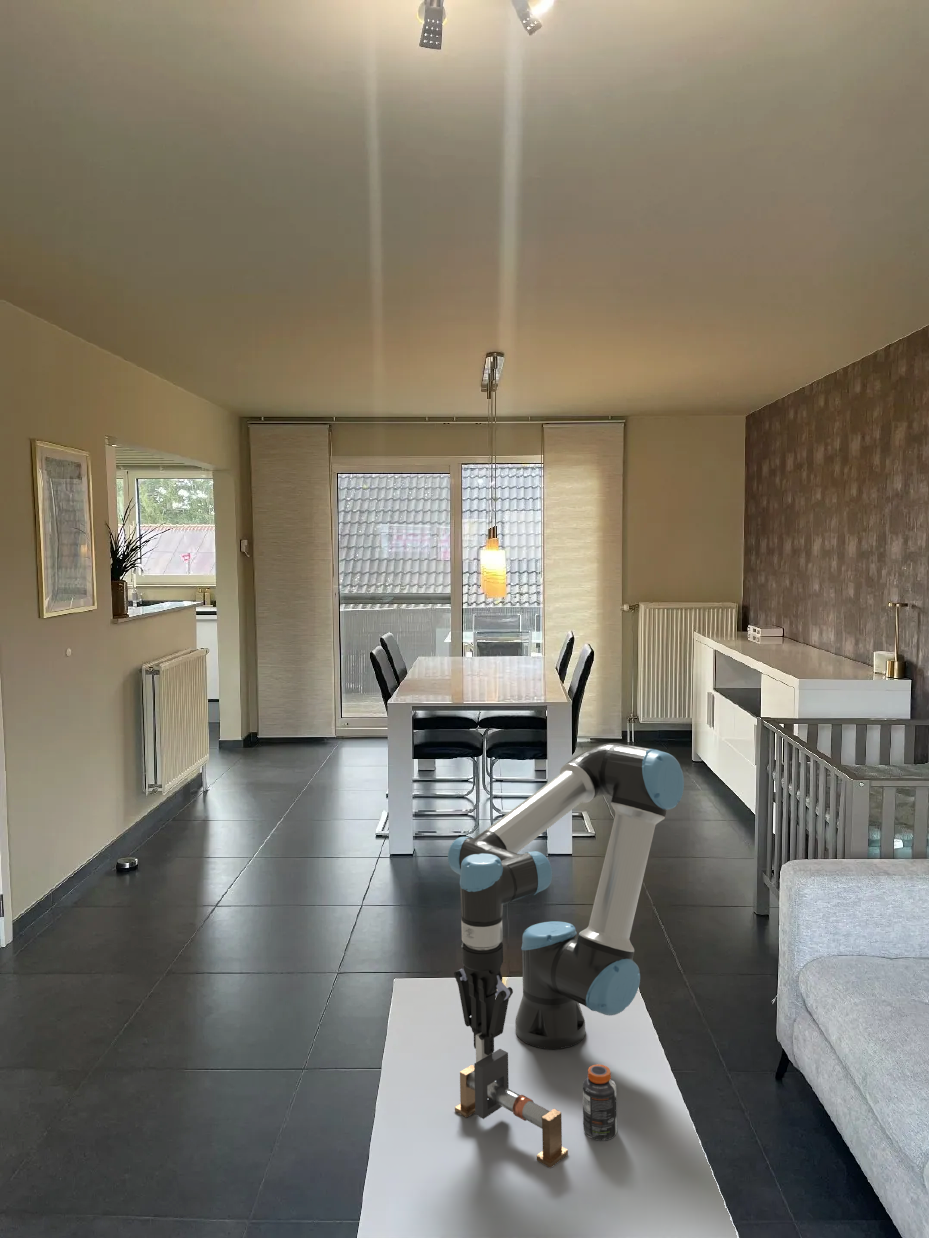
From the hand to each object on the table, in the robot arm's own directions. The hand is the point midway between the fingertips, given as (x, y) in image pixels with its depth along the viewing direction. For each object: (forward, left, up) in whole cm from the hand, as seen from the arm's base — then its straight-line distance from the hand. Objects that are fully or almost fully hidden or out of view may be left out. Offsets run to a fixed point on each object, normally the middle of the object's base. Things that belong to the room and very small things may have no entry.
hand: (484, 1068), depth 161 cm
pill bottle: (-18, +11, -10) cm, 23 cm away
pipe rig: (-3, +5, -10) cm, 11 cm away
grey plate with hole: (-1, +1, -7) cm, 7 cm away
